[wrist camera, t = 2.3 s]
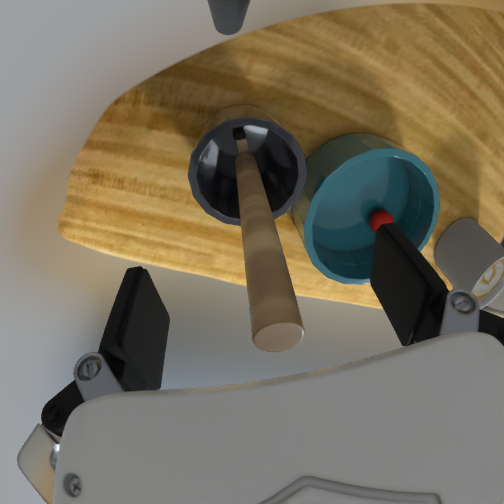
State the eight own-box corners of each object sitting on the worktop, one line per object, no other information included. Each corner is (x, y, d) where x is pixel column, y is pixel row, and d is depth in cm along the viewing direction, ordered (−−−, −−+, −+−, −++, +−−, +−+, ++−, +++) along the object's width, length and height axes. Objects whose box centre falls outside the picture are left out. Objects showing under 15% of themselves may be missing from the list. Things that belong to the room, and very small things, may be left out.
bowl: (284, 139, 27) (298, 156, 22) (415, 131, 26) (447, 146, 21) (296, 262, 36) (307, 296, 31) (403, 242, 35) (425, 269, 30)
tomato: (366, 207, 31) (377, 219, 29) (388, 204, 31) (399, 216, 28) (364, 228, 33) (374, 242, 30) (385, 225, 33) (396, 238, 30)
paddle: (230, 129, 25) (242, 302, 7) (247, 126, 25) (303, 291, 7) (237, 164, 27) (260, 370, 9) (253, 161, 27) (305, 363, 9)
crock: (192, 113, 24) (176, 131, 17) (277, 98, 24) (300, 110, 17) (209, 188, 29) (204, 234, 22) (287, 175, 29) (309, 216, 22)
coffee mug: (447, 215, 33) (489, 257, 25) (484, 218, 34) (522, 254, 26) (418, 286, 41) (446, 331, 33) (456, 281, 42) (484, 320, 34)
